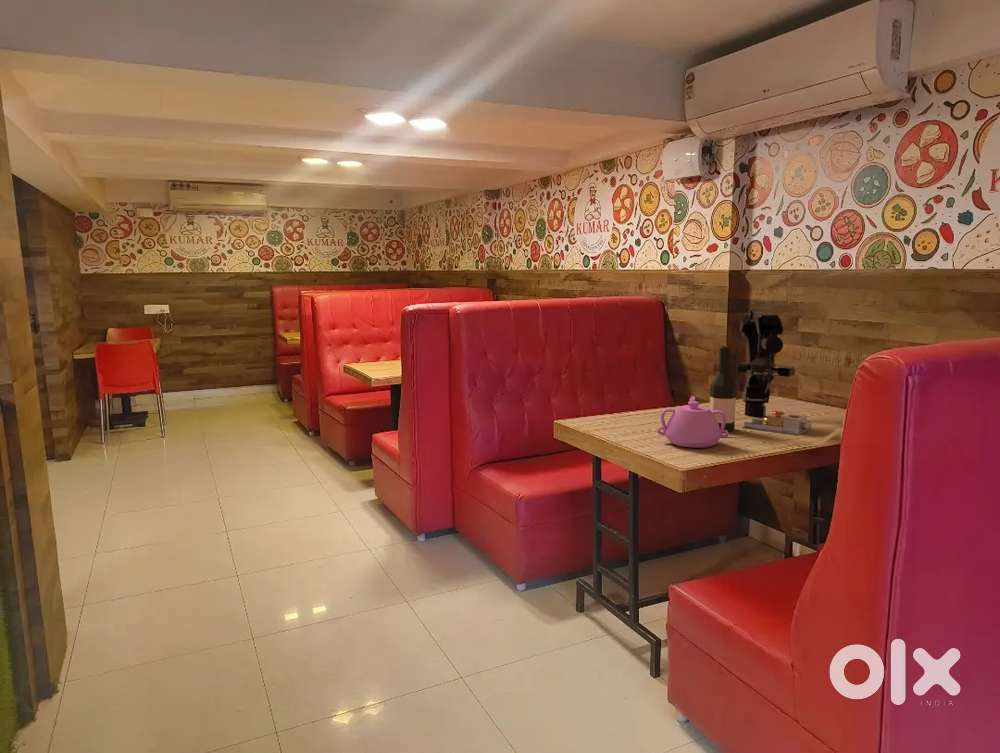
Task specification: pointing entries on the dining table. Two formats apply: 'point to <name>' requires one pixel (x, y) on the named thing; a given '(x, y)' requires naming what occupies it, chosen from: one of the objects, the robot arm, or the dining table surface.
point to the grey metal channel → (790, 425)
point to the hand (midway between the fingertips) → (764, 393)
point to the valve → (774, 419)
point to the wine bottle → (724, 391)
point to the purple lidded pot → (693, 426)
